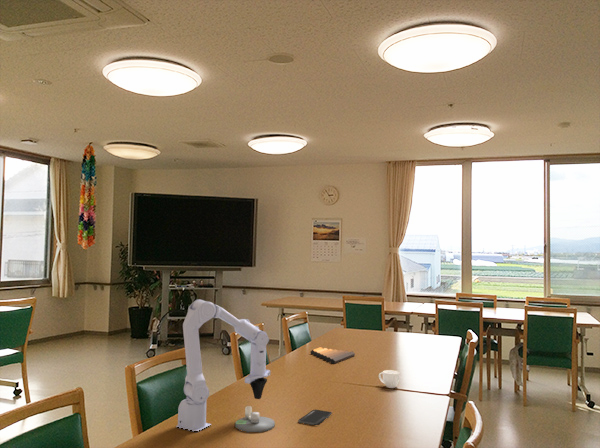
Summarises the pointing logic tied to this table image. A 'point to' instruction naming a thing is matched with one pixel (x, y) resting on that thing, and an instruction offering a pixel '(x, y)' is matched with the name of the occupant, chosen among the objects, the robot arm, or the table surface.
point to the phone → (315, 417)
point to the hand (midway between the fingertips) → (257, 398)
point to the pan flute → (332, 355)
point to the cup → (390, 378)
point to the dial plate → (255, 424)
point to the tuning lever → (251, 414)
